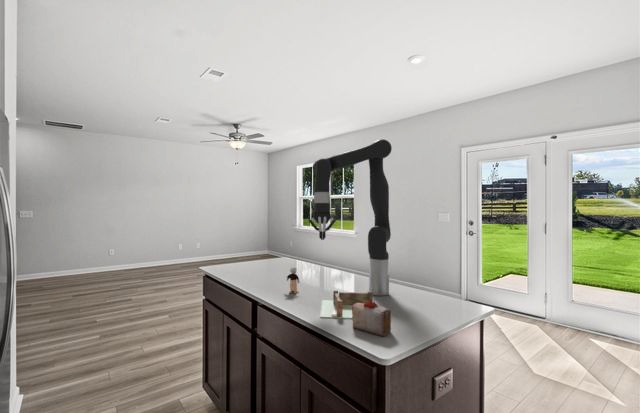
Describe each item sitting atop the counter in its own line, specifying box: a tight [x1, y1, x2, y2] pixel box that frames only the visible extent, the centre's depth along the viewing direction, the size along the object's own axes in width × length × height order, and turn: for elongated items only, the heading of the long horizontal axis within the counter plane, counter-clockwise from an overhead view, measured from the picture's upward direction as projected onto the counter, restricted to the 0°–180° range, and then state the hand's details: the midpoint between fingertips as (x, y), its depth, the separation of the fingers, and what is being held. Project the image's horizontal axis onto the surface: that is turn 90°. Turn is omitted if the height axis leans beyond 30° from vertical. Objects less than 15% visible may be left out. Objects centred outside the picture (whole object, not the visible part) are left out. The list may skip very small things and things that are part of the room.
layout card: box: [319, 299, 353, 320], centre depth 132 cm, size 23×21×1 cm
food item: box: [352, 300, 392, 337], centre depth 111 cm, size 14×8×10 cm, turn 51°
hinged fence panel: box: [332, 290, 343, 316], centre depth 130 cm, size 16×2×6 cm, turn 4°
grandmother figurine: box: [286, 266, 301, 294], centre depth 156 cm, size 8×4×13 cm, turn 71°
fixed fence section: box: [338, 290, 374, 306], centre depth 136 cm, size 14×2×6 cm, turn 87°
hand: (322, 239), depth 147 cm, fingers closed
